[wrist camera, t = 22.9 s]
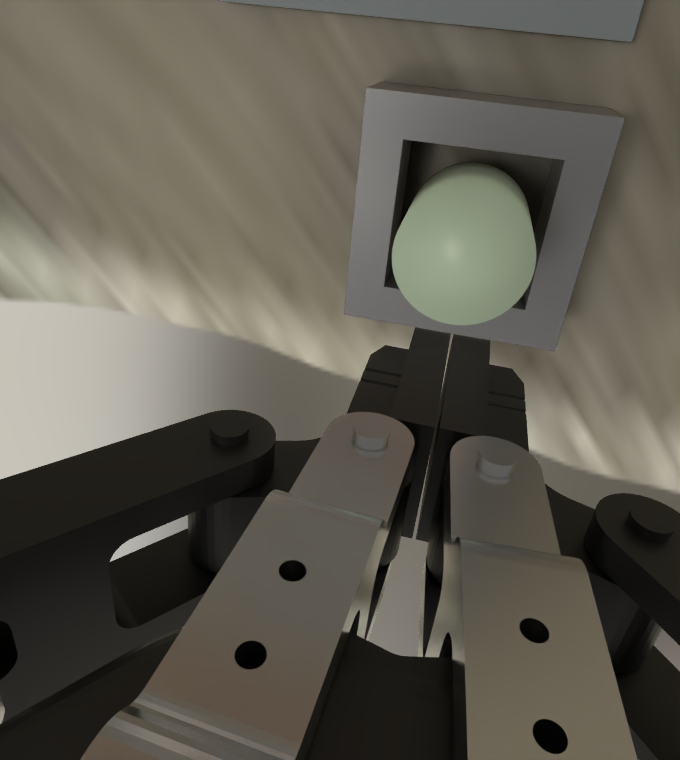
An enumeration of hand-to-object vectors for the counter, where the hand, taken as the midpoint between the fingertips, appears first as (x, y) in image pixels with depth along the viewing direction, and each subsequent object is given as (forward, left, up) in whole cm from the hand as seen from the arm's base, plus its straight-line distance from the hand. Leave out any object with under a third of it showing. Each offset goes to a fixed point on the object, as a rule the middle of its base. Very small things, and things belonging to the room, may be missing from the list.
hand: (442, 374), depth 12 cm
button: (0, 0, -11) cm, 11 cm away
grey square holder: (0, 0, -13) cm, 13 cm away
